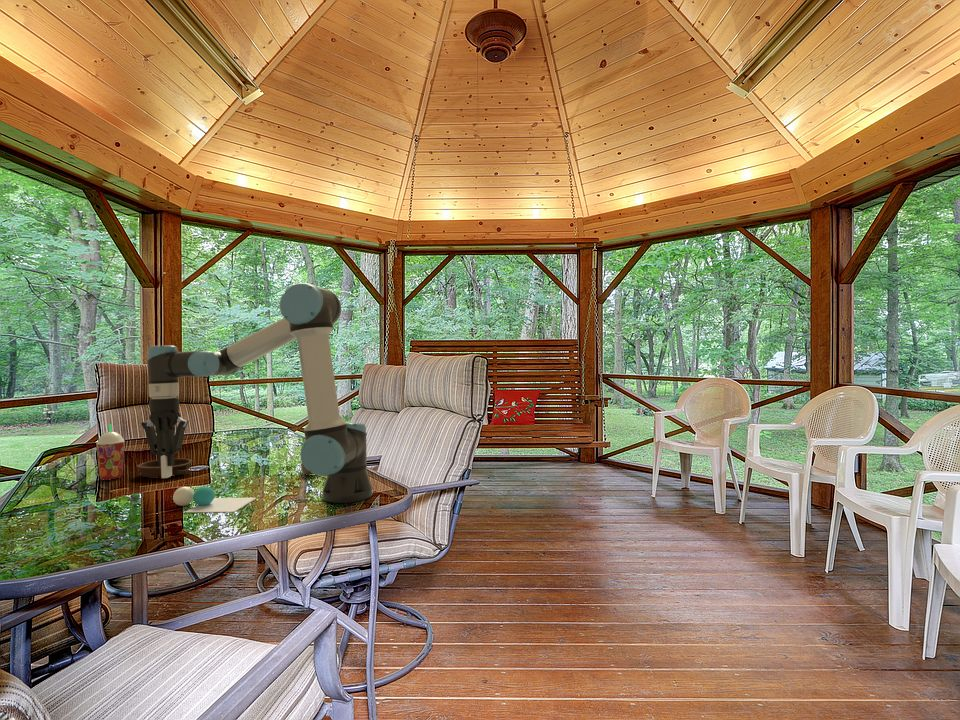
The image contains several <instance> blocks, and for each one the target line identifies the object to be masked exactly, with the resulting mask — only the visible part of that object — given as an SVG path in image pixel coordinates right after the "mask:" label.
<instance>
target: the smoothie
mask: <svg viewBox="0 0 960 720" xmlns="http://www.w3.org/2000/svg"><path fill="white" fill-rule="evenodd" d="M108 426H109V427H108V428H109V429H108V432H107V431H106V432H105V433H103V434H101V435H100V437H99V438H98V440H97V441H96V453H97V463H98V464H97V465H98V466H97V467H98V477H99V478H100V479H104V480H108V479H115V478H118V477H121V478H122V475H123V473H124V472H123V470H124V455H125V439H124V438H123V436H122V435H121V434H120V433H119V432H116V431H112V430H113V429H112V428H113V426H112V424H109V425H108Z"/></svg>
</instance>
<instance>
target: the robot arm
mask: <svg viewBox="0 0 960 720" xmlns="http://www.w3.org/2000/svg"><path fill="white" fill-rule="evenodd" d="M279 300H280V301H279V311H280V314H281V315H282V317H283V318H281V319H279V320H277V321H274V322H273V323H272V324H269V325H267V326H266V327H264V328H263V327H262V329H259V330H257V331H255V332H254V333H252V334H250V335H248V336H246V337H244V338H242V339H240V340H238V341H236V342H234V343H232V344H231V345H228V346H227V347H225V348H223V349H220V350H218V351H211V350H195V351H194V350H191V351H179V349H178V347H177V346H176V345H151V346H149V347H148V349H147V359H146V360H147V361H146V362H147V369H148V397H149V398H150V399H149V400H148V402H149V403H148V409H149V411H150V412H149V413H150V415H149V417H148V419H147V420H146V421H142V422H141V423H140V425H141V427H142V428H143V429H144V432H145V436H146V440H147V443H148V445H149V446H148V447H149V451H150V453H151V454H152V455H157V460H158V465H159V466H161V478H160V479H168V478H172V477H171V476H172V465H174V458H175V454H177V453H179V452H181V451H182V446H183V442H184V438H185V437H184V436H185V431H186V428H187V426H188V424H189V423H190V422H189V419H184V418H182V417H181V414H180V398H179V395H180V387H179V386H180V384H179V383H180V382H179V381H180V379H179V378H190V377H191V378H193V377H196V378H197V377H199V378H206V377H210V376H211V377H213V376H230V375H235V374H237V373H238V372H239V371H240V369H241V368H242V367H243V366H246V365H247V364H250V363H252V362H254V361H255V360H257V359H260V358H261V357H264V356H265V355H267V354H270V353H271V352H273V351H275V350H278V349H280V348H281V347H283V346H285V345H287V344H289V343H291V342H293V341H295V340H296V341H297V348H298V355H299V362H300V368H301V376H302V384H303V391H304V397H305V405H306V411H307V418H308V419H307V420H308V423H307V424H306V426H305V427H304V429H303V431H304V432H303V433H304V439H305V440H304V442H303V444H302V445H301V447H300V453H299V456H300V460H301V462H302V463H303V465H304V467H305V468H306V469H307V470H308V471H310V472H311V473H313V474H315V475H314V476H319V477H325V476H326V479H325V482H324V486H323V488H322V492H321V493H322V494H321V495H322V500H323V501H324V502H327V503H333V504H335V503H336V504H348V503H355V502H356V503H357V502H360V501H365V500H368V499H369V498H371V497H372V496H373V486H372V483H371V479H370V476H369V473H368V470H367V435H368V433H367V427H366V425H365V424H364V423H361V422H360V423H359V422H357V423H355V422H353V423H351V422H350V423H349V422H348V423H347V421H345V420H344V419H342V418H341V416H340V410H339V401H338V395H337V387H336V380H335V373H334V368H333V367H334V365H333V358H332V350H331V345H330V344H331V343H330V337H329V336H330V334H331V332H332V331H333V330H334V324H335V323H336V322H337V321H338V320H339V318H340V316H341V312H342V303H341V301H340V299H339V297H338V296H337V295H336V294H335V293H333V291H331V290H330V289H327V288H322V287H320V286H317V285H315V284H313V283H309V282H297V283H294V284H292V285H290V286H289V287H287V289H286V290H285V291H284V292H283V293H282V295H281V297H280V299H279Z"/></svg>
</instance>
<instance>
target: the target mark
mask: <svg viewBox="0 0 960 720" xmlns="http://www.w3.org/2000/svg"><path fill="white" fill-rule="evenodd" d="M256 499H258V497H214V499H213V501H212V502H211V503H210V504H208V505H204V506H201V505H198V504H196V505H195V506H194V507H191V508H190V509H188V510H186V511H184V513H187V514H188V513H191V514H192V513H197V514H198V513H201V514H202V513H235V512H237V511H239V510H240V509H242V508H243V507H245V506H247V505H249V504H250V503H251V502H253V501H255V500H256Z"/></svg>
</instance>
